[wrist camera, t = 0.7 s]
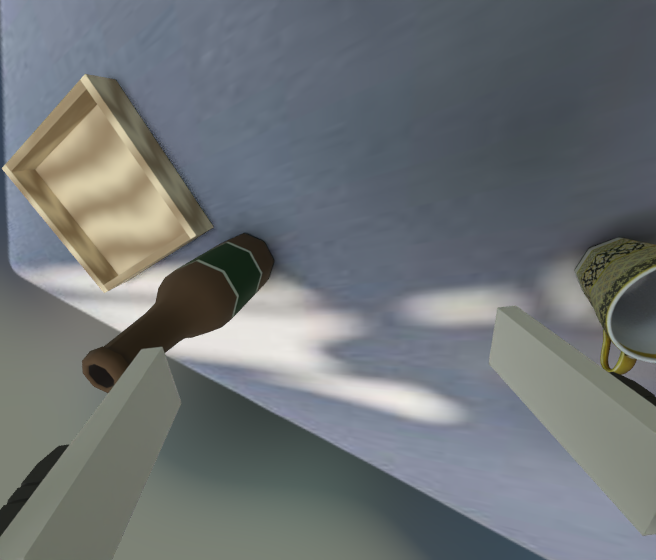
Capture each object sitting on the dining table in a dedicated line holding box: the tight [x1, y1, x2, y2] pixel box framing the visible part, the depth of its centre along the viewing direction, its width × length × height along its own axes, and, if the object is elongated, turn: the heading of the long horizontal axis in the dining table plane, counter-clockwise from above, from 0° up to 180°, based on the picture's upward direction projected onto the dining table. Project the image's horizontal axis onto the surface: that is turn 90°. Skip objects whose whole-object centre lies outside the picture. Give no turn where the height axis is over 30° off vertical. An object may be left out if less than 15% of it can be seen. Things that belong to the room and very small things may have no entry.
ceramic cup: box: [575, 237, 656, 375], centre depth 30 cm, size 13×10×10 cm
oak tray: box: [2, 74, 213, 293], centre depth 42 cm, size 20×20×4 cm
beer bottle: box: [82, 233, 274, 393], centre depth 33 cm, size 8×8×24 cm
